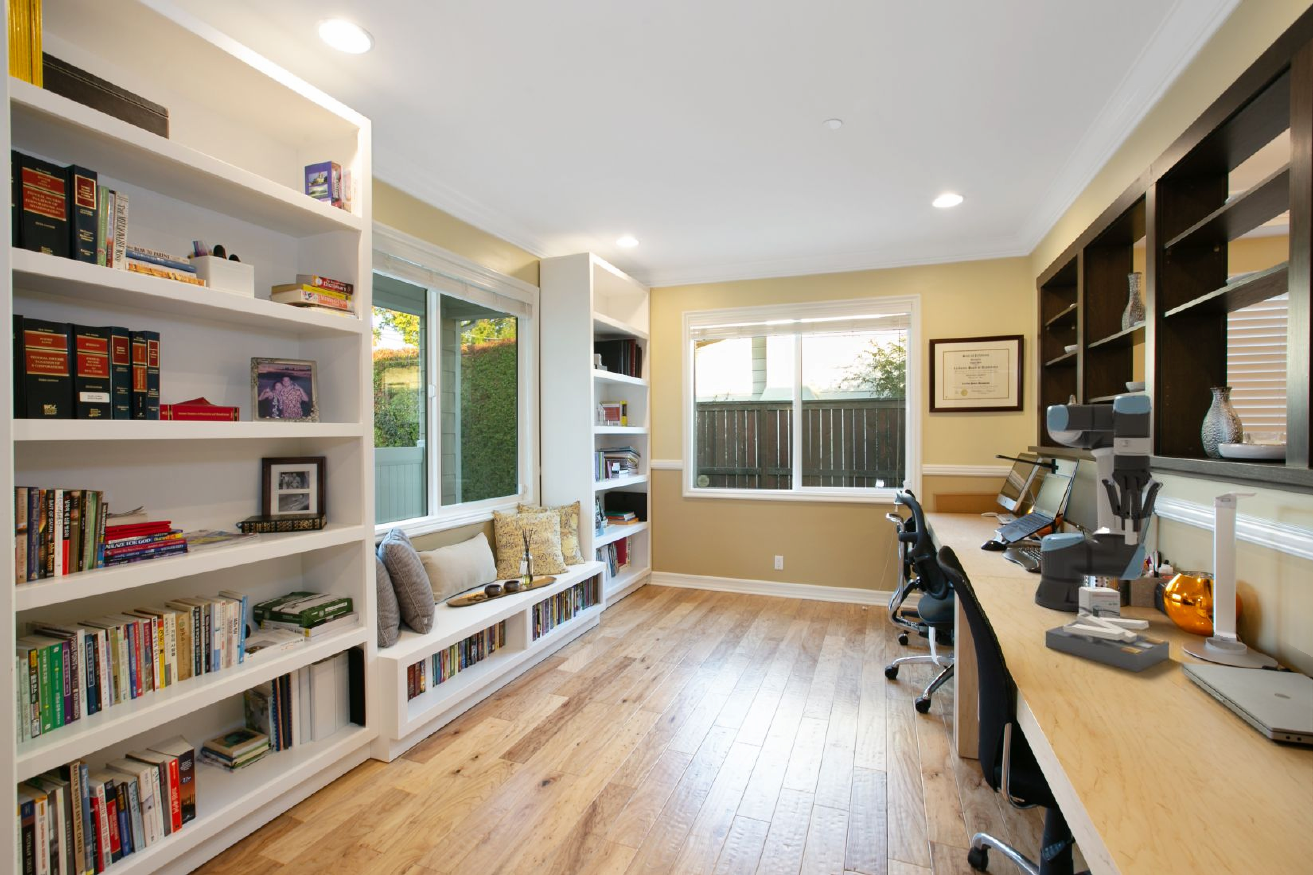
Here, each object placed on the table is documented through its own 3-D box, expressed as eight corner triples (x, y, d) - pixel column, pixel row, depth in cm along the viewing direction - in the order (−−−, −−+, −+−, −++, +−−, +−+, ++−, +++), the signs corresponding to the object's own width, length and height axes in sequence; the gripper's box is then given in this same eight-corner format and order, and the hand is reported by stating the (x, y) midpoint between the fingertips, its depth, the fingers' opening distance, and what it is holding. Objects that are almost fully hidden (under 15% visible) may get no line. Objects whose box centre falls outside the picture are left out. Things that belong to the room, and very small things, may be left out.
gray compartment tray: (1079, 634, 166) (1079, 615, 166) (1168, 657, 149) (1169, 636, 149) (1045, 646, 157) (1045, 625, 157) (1136, 672, 140) (1136, 649, 140)
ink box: (1088, 632, 168) (1088, 591, 168) (1077, 626, 173) (1077, 586, 173) (1121, 633, 167) (1121, 592, 167) (1109, 627, 172) (1109, 587, 172)
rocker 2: (1083, 617, 159) (1084, 611, 159) (1135, 639, 149) (1137, 633, 149) (1075, 619, 157) (1077, 614, 157) (1128, 642, 147) (1130, 636, 147)
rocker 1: (1071, 628, 156) (1070, 622, 156) (1125, 637, 145) (1124, 630, 146) (1063, 631, 154) (1063, 624, 154) (1118, 640, 143) (1117, 633, 144)
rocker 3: (1096, 622, 162) (1094, 616, 162) (1148, 626, 152) (1147, 620, 152) (1088, 624, 160) (1087, 618, 160) (1142, 629, 150) (1140, 622, 150)
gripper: (1096, 453, 160) (1095, 541, 160) (1155, 455, 148) (1154, 549, 149) (1110, 452, 163) (1109, 538, 164) (1168, 454, 152) (1168, 546, 152)
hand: (1130, 543), depth 156 cm, fingers closed
